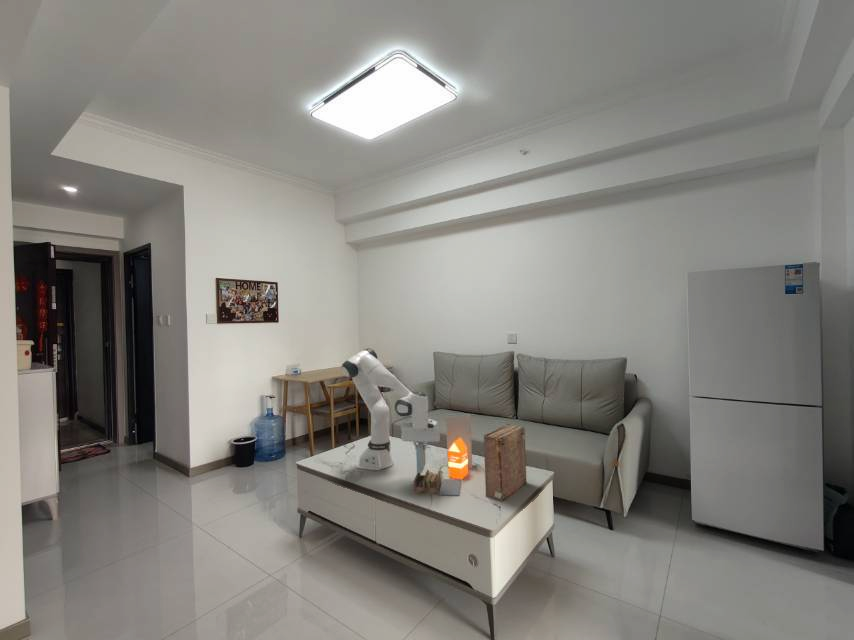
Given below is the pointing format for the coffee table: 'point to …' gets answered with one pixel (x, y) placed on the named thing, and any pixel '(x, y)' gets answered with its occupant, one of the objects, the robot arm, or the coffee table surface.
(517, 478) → the book
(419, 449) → the light blue slab
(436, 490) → the rack
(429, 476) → the offcut
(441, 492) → the mat
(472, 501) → the coffee table surface
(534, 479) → the coffee table surface
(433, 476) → the offcut
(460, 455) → the orange juice
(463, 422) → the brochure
